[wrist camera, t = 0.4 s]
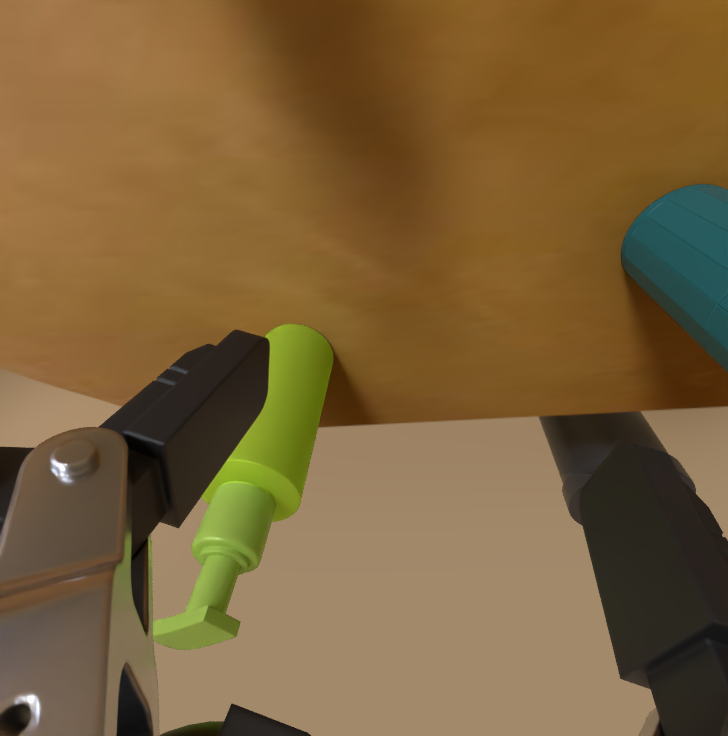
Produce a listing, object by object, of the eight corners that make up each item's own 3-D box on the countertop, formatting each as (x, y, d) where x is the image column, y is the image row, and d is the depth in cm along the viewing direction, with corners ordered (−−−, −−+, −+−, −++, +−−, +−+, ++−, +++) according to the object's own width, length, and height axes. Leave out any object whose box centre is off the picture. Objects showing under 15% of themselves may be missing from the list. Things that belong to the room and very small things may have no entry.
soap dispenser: (238, 349, 32) (81, 625, 17) (302, 311, 29) (187, 599, 14) (284, 395, 35) (188, 668, 19) (347, 364, 32) (294, 654, 17)
